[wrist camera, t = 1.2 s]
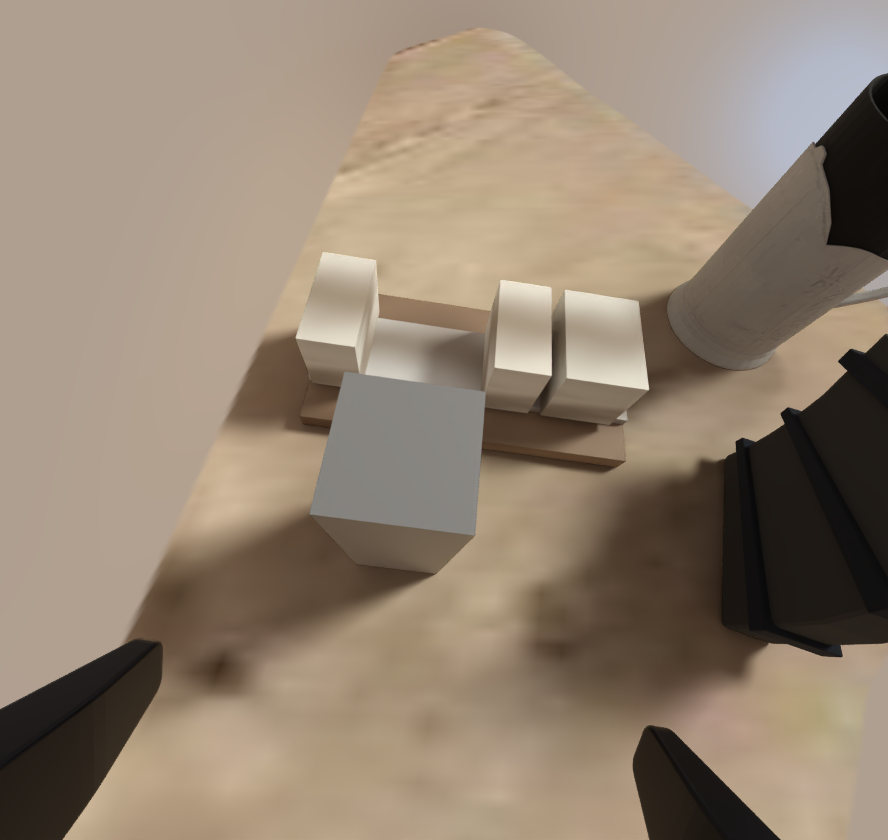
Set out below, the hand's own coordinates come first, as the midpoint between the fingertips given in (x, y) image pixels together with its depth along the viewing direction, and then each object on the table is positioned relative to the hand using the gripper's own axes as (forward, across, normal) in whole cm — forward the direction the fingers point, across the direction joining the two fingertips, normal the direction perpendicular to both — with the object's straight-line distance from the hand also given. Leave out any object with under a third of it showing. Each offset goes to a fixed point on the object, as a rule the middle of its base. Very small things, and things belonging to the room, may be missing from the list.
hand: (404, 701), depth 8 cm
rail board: (+22, -1, -3) cm, 22 cm away
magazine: (+18, -20, +2) cm, 27 cm away
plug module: (+15, +1, +5) cm, 16 cm away
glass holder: (+28, -23, -10) cm, 38 cm away
